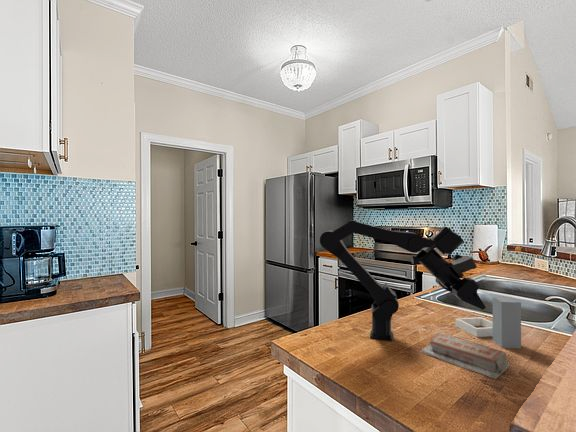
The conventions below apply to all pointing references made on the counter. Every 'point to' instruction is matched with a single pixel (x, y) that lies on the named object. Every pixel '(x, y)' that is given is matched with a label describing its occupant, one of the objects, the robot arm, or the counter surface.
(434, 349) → the packaged product
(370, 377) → the counter surface
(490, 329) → the tray
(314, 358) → the counter surface
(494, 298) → the slate block
